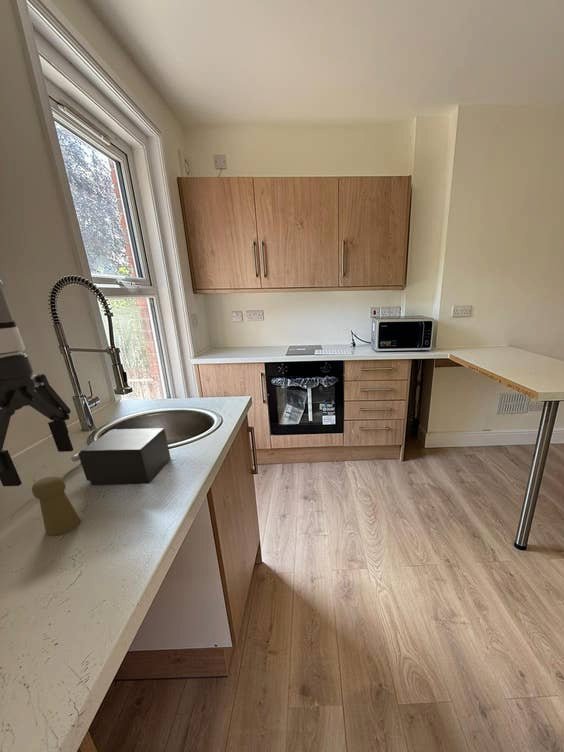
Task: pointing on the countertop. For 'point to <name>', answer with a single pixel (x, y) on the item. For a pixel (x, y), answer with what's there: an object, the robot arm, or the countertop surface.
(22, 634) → the countertop surface
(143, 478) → the cabinet
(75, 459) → the drawer
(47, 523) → the cork
